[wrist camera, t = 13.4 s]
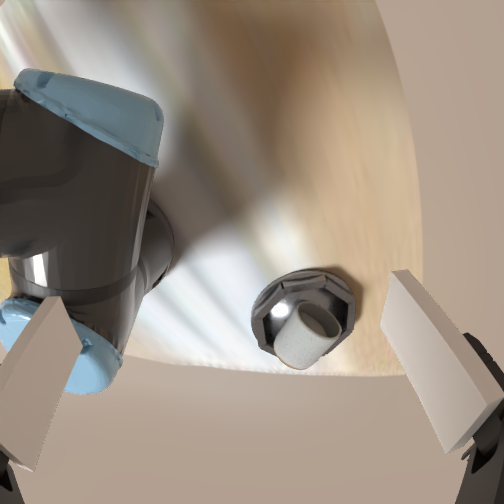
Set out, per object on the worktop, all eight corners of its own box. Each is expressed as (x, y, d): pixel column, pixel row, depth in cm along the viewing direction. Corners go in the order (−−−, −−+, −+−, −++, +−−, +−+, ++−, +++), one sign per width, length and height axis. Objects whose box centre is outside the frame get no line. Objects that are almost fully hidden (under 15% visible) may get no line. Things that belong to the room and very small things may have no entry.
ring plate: (257, 358, 51) (258, 369, 49) (243, 279, 43) (244, 289, 41) (350, 341, 51) (354, 351, 49) (355, 261, 43) (361, 269, 41)
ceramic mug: (267, 334, 47) (273, 370, 40) (291, 294, 44) (303, 330, 37) (322, 347, 50) (334, 381, 43) (348, 312, 47) (365, 345, 40)
